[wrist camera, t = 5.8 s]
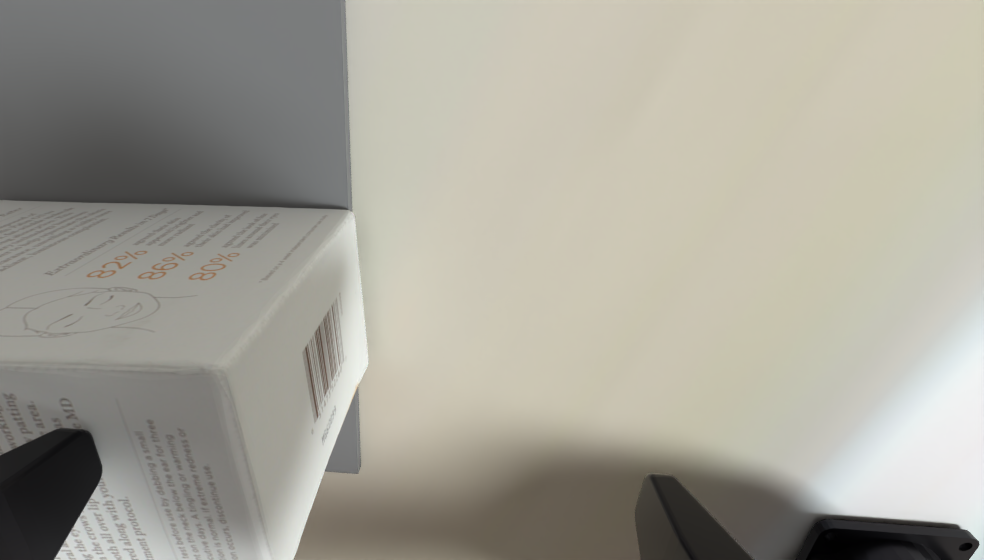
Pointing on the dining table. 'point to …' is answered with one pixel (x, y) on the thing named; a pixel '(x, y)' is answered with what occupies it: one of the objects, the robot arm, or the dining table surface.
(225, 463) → the small box
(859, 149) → the dining table surface
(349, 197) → the mat
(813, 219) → the dining table surface
